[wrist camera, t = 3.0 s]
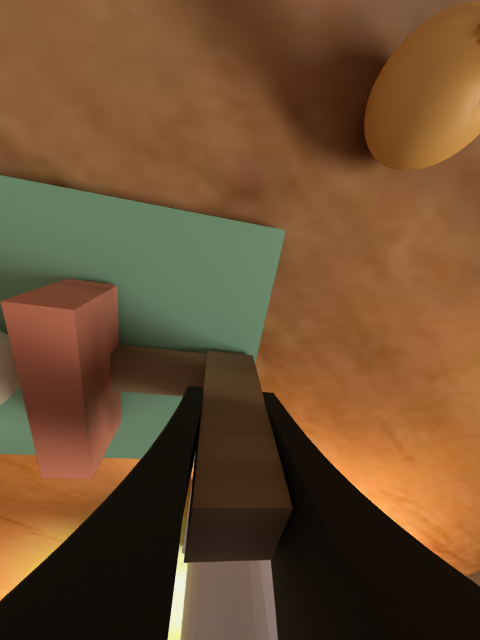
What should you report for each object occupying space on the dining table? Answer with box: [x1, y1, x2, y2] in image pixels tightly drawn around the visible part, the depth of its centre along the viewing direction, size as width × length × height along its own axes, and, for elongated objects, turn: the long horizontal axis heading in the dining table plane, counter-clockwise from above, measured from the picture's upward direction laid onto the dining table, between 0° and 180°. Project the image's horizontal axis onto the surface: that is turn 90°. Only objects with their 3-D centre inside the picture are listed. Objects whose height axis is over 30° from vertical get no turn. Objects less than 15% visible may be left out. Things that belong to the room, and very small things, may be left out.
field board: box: [0, 175, 286, 461], centre depth 12 cm, size 15×21×1 cm
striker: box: [1, 279, 293, 563], centre depth 8 cm, size 8×9×7 cm
